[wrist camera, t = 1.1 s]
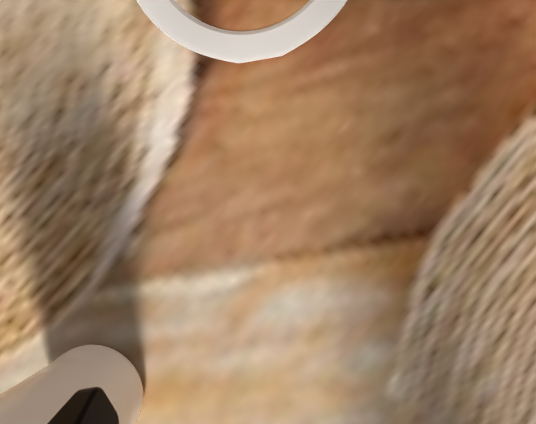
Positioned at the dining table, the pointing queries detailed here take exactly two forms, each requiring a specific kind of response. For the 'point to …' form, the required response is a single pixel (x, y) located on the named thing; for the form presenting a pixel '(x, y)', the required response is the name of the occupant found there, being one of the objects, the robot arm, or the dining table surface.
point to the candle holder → (241, 42)
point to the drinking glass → (75, 386)
